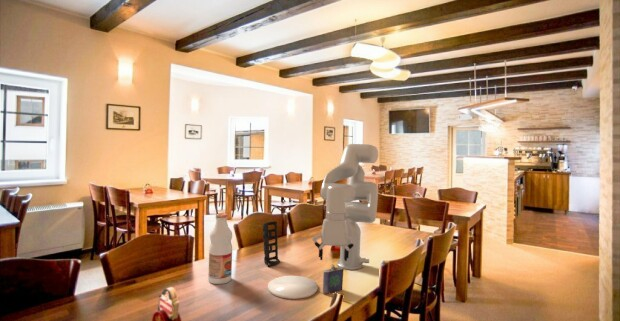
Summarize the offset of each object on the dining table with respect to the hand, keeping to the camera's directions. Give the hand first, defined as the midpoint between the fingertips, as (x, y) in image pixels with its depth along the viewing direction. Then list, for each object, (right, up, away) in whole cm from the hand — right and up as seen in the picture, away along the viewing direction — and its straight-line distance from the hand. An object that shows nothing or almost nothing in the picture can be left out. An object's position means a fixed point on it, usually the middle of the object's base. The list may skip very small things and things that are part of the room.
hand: (333, 259), depth 130 cm
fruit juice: (-47, -11, +8) cm, 49 cm away
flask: (0, -13, +1) cm, 13 cm away
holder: (-29, -11, +30) cm, 43 cm away
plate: (-16, -13, +3) cm, 21 cm away
